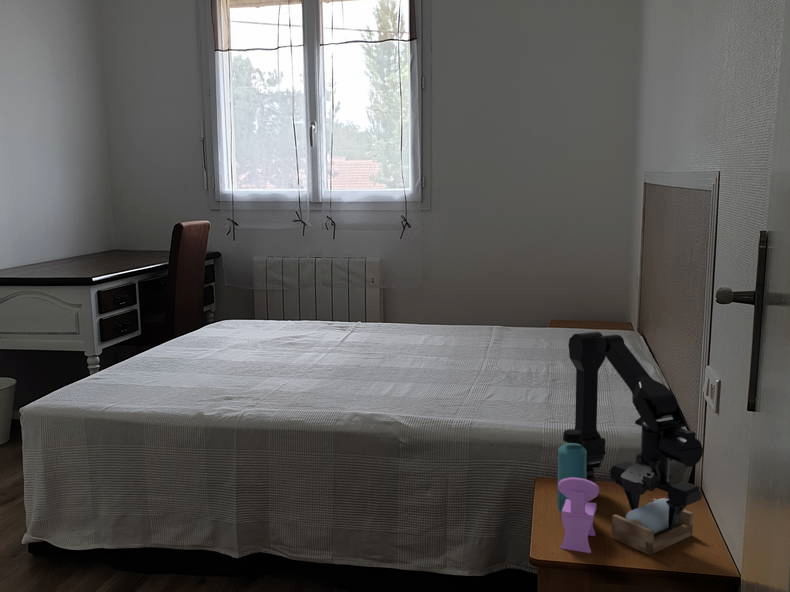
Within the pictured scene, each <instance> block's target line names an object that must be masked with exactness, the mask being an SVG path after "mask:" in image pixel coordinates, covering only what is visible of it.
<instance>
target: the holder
mask: <svg viewBox="0 0 790 592" xmlns="http://www.w3.org/2000/svg"><path fill="white" fill-rule="evenodd" d="M658 499H659V498H652V499H651V502H653V501H656V500H658ZM611 517H612V518H611V519H612V520H611V538H612V539H613V540H615V541H618V542H620V543H622V544H625V545H627V546H629V547H631V548H633V549H634V550H635V549H636V550H638V551H640V552H642V553H645V554H646V555H648V556H651V555H653V554H656V553H657V552H659V551H662V550H664V549H666V548H668V547H670V546H672V545H674V544H677V543H678V542H680V541H683V540H685V539H687V538H689V537H692V536H693V524H694V523H693V522H694V512H692V511H689V510H687V509H684V510H683V511H682V513H681V515H680V517H679V520H678V522H677V523H676V524H675V526H674V527H673V528H672V529H669V528H667V529H665V530H663V531H660V532H658V533H656V534H654V530H652V529H649V528H647V527H645V526H642V525H640V524H639V523H637V522H635V521H632V520H628V519H626V517H623V516H621V515H618V514H616V513H615V514H613V515H612V516H611Z"/></svg>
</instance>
